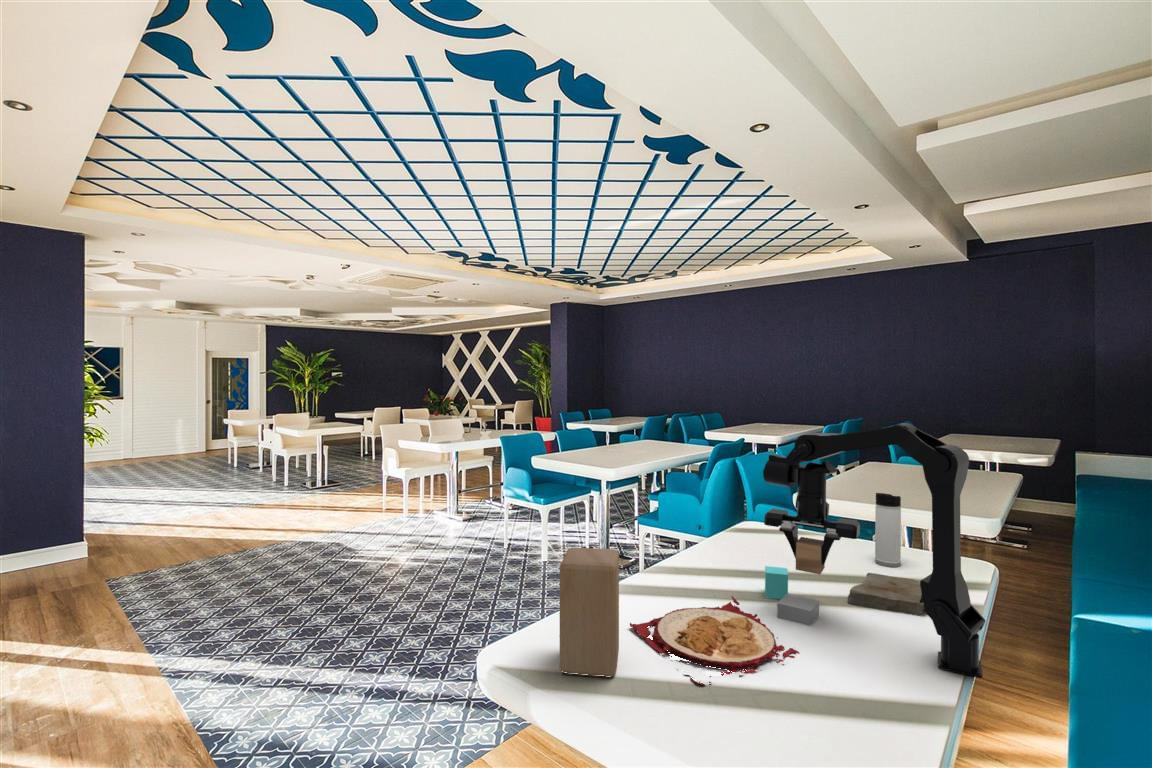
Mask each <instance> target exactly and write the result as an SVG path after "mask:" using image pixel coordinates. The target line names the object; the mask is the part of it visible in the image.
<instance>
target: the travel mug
mask: <svg viewBox="0 0 1152 768" xmlns="http://www.w3.org/2000/svg"><path fill="white" fill-rule="evenodd" d="M901 501H902V497H901V496H900V495H893V494H890V493H884V492H883V493H882V492H876V493H875V507H874V508H875V511H874V512H875V514H874V515H875V516H874V517H875V521H874V522H875V523H874V524H875V525H874V526H875V529H874V530H875V531H874V532H875V535H874V536H875V537H874V538H875V539H874V540H875V541H874V545H875V546H874V550H875V551H874V561H875V563H876V564H877V565H879V566H883V567H886V568H898V567H900V566H902V565H901V563H902V560H901V559H902V558H901V557H902V555H901V553H902V552H901V549H902V545H901V543H902V540H901V539H902V509H901V508H902V505H901V504H902V502H901Z"/></svg>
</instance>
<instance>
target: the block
mask: <svg viewBox="0 0 1152 768" xmlns="http://www.w3.org/2000/svg"><path fill="white" fill-rule="evenodd" d="M619 650H620V554H619V551H618V550H616V549H614V548H598V547H597V548H593V547H569V548H567V550H566V552H565V554H564V556H563V558H562V560H561V563H560V564H559V669H560V672H561V671H563V672H567V673H578V674H588V675H604V676H613V677H615V675H616V672H617V666H618V659H619V658H618V657H619Z"/></svg>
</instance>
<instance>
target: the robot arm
mask: <svg viewBox="0 0 1152 768" xmlns="http://www.w3.org/2000/svg"><path fill="white" fill-rule="evenodd" d="M894 445H896V446H898V447H899V448H900V449H902V450H903V451H904V452H905V453H906V454H908V456H909V457H910V458H912V460H914V461H916V462H917V463H919V464H920V465H922V470H923V476H924V480H925V482H926V485H927V487H928V490H929V492H930V495H931V530H932V531H931V538H932V547H931V548H932V549H931V550H932V571H931V573H930V574H929V575H927V576H926V577H924V578H922V579H921V580H919V583H920V587H921V593H922V595H921V599H920V601H919V602H920V603H924V609H923V611H924V612H925V615H927V616H928V617H929V618H930V620H931V621H932V624H933V626H934V629H935V631H936V635H938V636H940V651H938V652H937V668H938V669H940V670H945V671H948V672H953V673H957V674H961V673H963V674H962V675H966V676H971V677H974V678H979V679H982V678H984V677H983V669H982V664H981V663H982V662H981V660H980V654H979V653H980V636H979V632H980V631H982V629H983V627H984V625H985V624H986V618H984V617H983V616H982V615H981V614H980V612H979V611H978V610H977V609H976V608H975V607H974V606H973V605H972V602H971V597H970V593H969V588H968V585H967V583H966V581H965V579H964V576H963V573H962V559H961V557H962V554H961V553H962V551H961V550H962V549H961V548H962V547H961V546H962V543H961V540H962V539H961V535H962V534H961V495H962V494H961V493H962V491H963V488H964V486H965V483H966V480H967V476H968V472H969V471H968V470H969V466H970V457H969V454H968V453H967V452H966V451H965V450H964V449H963V448H961V447H959V446H957V445H954V444H947V443H945V442H943V441H942V440H940V439H939V438H937V437H934V436H933V435H930V434H929V433H926V432H924V431H922V430H920V429H918V427H916V426H914V425H913V424H911V423H906V422H905V423H897V424H893V425H892V426H885V427H880V428H874V429H867V430H866V429H865V430H859V431H853V432H847V433H833V432H829V433H828V432H814V433H807V434H806V433H805V434H802V435H799V436H798V437H797V438H796V439H795V442H794V446H793V448H792V450H791V451H790V452H789V453H788V455H787V456H783V455H779V454H777V453H776V454H774V453H772V454H769V455H768V460H767V461H766V463H765V465H764V468H763V469H762V477H763V479H764V482H765V483H767V484H770V485H776V486H782V487H788V488H793V487H795V485H797V495H796V498H795V509H796V510H797V511H796V515H791V514H789V511H788V509H787V510H786V509H779V508H771V509H770V510H769V511H767V512H766V513H765V514H764V519H763V520H764V523H763V524H764V525H765V526H768V527H774V528H778V527H779V529H778V530H779V532H783V534H784V536H785V538H786V539H787V541H788V544H789V546H790V548H791V550H792V553H793V555H794V556H793V557H794V559H795V560H796V542H797V541H798V540H799V534H798V533H799V526H801V527H808V528H814V529H822V530H826V533H825V535H823V540H824V542H823V551H822V565H824V564H825V563H826V561H827V559H828V555H829V553H830V551H831V548H832V546H833V544H834V543H835V541H840V540H841V539H842V538H845V539H850V540H851V539H852V540H857V539H858V538H859V535H860V533H861V524H860V522H859V520H857V519H852V518H851V519H850V518H843V517H840V518H839V519H838V520H837V521H833V520H827V519H829V513H830V504H829V503H828V502H827V475H828V474H829V475H830V474H832V473H833V474H834V473H836V472H838V469H837V468H836V467H835V466H834V465H832V464H831V462H830V461H829V460H826V461H823V462H821V463H817V462H812V461H817V460H821V459H825V458H829V457H832V456H835V455H838V454H840V453H844V452H849V451H855V450H856V451H858V450H863V449H871V448H879V447H880V448H881V447H887V446H888V447H889V446H894ZM805 462H808V463H807V464H805V465H803V464H800V463H805ZM825 565H826V564H825Z"/></svg>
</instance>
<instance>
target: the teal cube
mask: <svg viewBox="0 0 1152 768" xmlns="http://www.w3.org/2000/svg"><path fill="white" fill-rule="evenodd" d="M787 593H788V594H789V573H788V568H787V567H781V566H780V567H778V566H771V565H770V566H768V565H765V566H764V594H765V596H764V597H765V598H766V599H773V600H775V599H776V600H781V599H782V598H783V597H784V596H785V595H786V594H787Z"/></svg>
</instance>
